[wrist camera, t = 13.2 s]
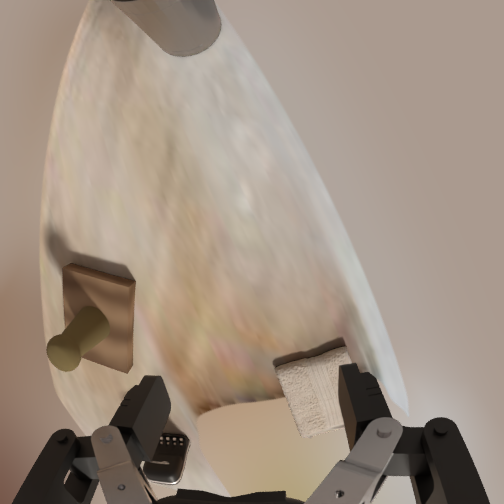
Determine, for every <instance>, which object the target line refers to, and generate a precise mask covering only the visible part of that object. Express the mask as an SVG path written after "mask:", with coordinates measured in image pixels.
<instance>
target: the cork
mask: <svg viewBox="0 0 504 504" xmlns="http://www.w3.org/2000/svg"><path fill="white" fill-rule="evenodd" d="M109 332H110V325H109V322H108V320H107V318H106V316H105V315H104V314H103V313H102V312H101V311H100V310H99V309H97V308H95V307H93V306H85V307H83V308H82V309H81V310H80V311H79V312H78V314H77V315H76V316H75V317H74V319H73V320H72V321H71V322H70V324H69V325H68V326H67V328H66V329H65V330H64V332H63V333H62V334H59V335H56V336H54V337H53V338H51V339H50V341H49V342H48V344H47V355H48V358H49V360H50V361H51V363H52V364H53V365H54V366H55V367H56V368H58V369H59V370H61V371H65V372H67V371H72V370H74V369H75V368H76V367H77V366H78V365H79V363H80V360H81V356H83V355H84V354H85V353H87V352H88V351H89V350H91V349H92V348H93V347H95V346H96V345H97V344H98V343H100V342H101V341H102V340H104V339H105V338H106V337H107V336H108V335H109Z"/></svg>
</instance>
